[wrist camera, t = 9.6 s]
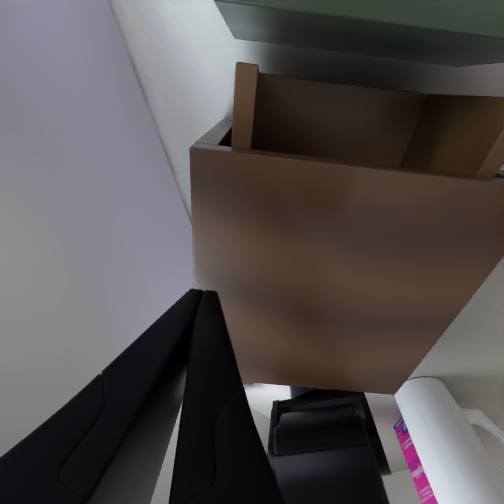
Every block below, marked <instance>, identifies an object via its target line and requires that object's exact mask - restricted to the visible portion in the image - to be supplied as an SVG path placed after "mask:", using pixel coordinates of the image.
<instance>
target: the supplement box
mask: <svg viewBox="0 0 504 504" xmlns="http://www.w3.org/2000/svg"><path fill="white" fill-rule="evenodd" d="M394 429H395V432H396V434H397V437H398V440H399V443H400V445H401V448H402V451H403V454H404V456H405V459H406V462H407V464H408V467H409V470H410V473H411V475H412V478H413V481H414V483H415V486H416V489H417V492H418V494H419V497H420V500H421V503H422V504H438V502H437V500H436V498H435V495H434V493H433V490H432V488H431V486H430V483H429V481H428V478H427V476H426V473H425V471H424V468H423V466H422V463H421V461H420V458H419V456H418V453H417V451H416V449H415V446H414V444H413V441H412V439H411V436H410V434H409V431H408V429H407V427H406V424H405V422H404V419H403V418H402V419H401V420H400V421H399V422H398V423H397V424H396V425H395V426H394Z"/></svg>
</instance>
